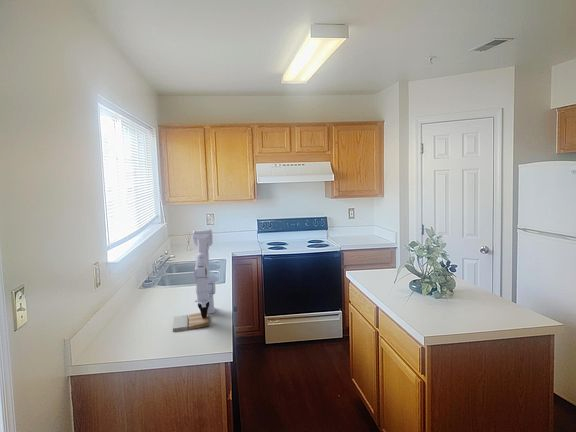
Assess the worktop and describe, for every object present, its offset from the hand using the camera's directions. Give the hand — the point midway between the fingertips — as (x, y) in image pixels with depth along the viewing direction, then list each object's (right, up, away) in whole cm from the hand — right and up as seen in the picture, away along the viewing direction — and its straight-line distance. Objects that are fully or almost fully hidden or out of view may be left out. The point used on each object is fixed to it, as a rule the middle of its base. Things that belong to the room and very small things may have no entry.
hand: (204, 317), depth 213 cm
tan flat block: (-3, -2, 0) cm, 3 cm away
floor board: (-11, -3, -2) cm, 12 cm away
